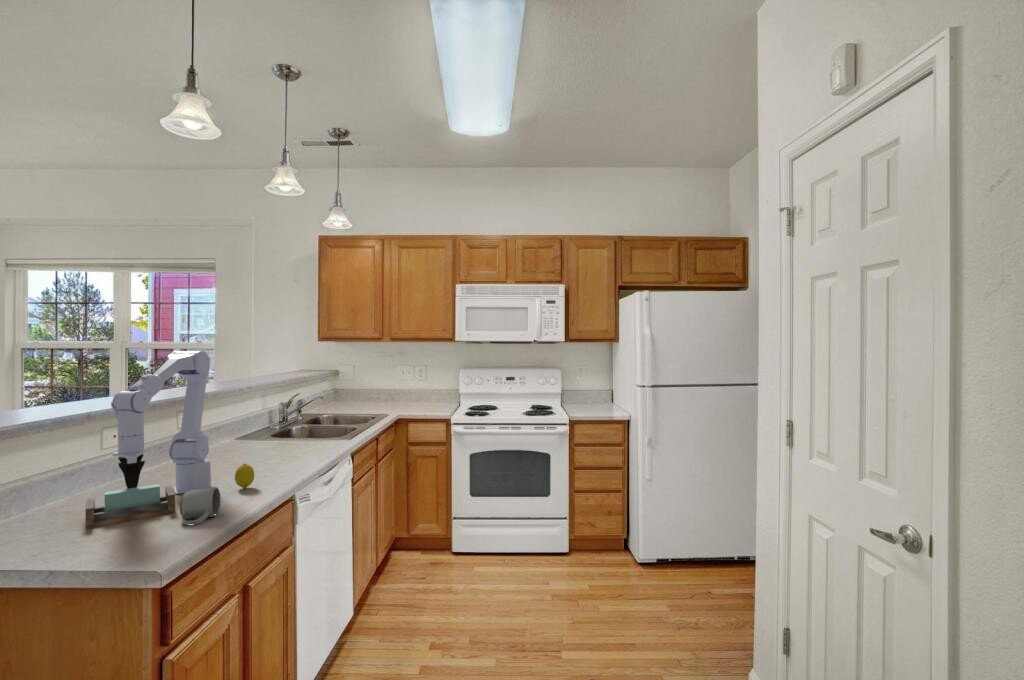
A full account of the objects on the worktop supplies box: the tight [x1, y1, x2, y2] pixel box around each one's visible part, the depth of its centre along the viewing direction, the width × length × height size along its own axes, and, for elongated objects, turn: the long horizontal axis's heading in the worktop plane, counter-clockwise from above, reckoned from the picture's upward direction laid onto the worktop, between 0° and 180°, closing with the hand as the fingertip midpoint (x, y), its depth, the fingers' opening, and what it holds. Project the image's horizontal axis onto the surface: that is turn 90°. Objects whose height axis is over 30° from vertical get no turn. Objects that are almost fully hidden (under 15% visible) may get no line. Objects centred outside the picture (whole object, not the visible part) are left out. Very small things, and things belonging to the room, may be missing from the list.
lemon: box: [234, 463, 255, 489], centre depth 161 cm, size 6×6×8 cm
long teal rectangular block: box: [104, 483, 161, 511], centre depth 138 cm, size 12×3×6 cm, turn 128°
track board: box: [85, 485, 176, 529], centre depth 138 cm, size 19×10×5 cm, turn 128°
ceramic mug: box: [179, 486, 221, 526], centre depth 135 cm, size 11×8×8 cm
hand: (131, 484), depth 138 cm, fingers open, 7 cm apart
